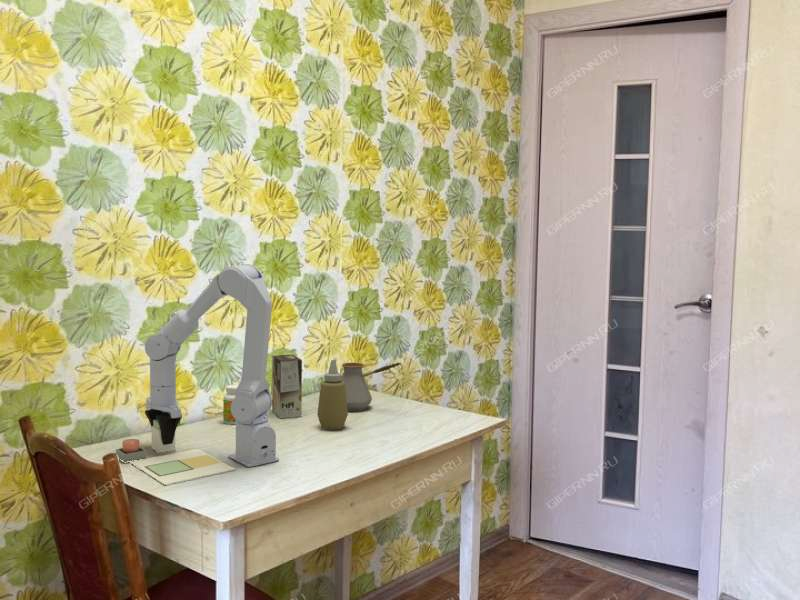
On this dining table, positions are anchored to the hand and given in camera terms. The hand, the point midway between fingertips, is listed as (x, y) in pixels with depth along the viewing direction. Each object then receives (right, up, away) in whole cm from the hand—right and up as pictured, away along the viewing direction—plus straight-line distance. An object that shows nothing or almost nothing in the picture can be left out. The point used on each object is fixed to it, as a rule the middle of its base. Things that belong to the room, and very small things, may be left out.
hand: (163, 441), depth 178 cm
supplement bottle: (+11, 0, +26) cm, 28 cm away
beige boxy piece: (0, -2, 0) cm, 2 cm away
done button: (-5, -1, -7) cm, 9 cm away
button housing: (-5, -3, -7) cm, 9 cm away
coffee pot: (+46, +1, +42) cm, 62 cm away
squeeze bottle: (+38, -1, +23) cm, 44 cm away
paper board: (+8, -3, -12) cm, 14 cm away
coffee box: (+24, +1, +35) cm, 43 cm away
